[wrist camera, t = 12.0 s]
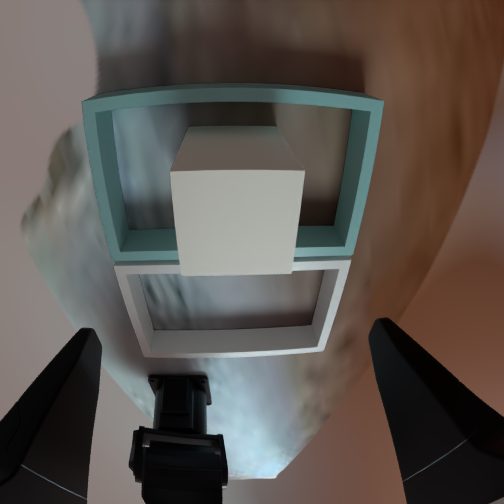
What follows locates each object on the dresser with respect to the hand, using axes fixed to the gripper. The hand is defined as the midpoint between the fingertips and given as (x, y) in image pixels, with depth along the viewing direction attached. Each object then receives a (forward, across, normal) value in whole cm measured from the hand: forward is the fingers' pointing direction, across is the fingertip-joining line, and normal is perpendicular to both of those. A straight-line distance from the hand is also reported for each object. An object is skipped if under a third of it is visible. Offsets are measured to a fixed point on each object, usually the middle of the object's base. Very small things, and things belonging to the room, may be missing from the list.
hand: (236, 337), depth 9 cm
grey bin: (+12, 0, +10) cm, 15 cm away
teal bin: (+12, 0, -1) cm, 12 cm away
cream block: (+12, 0, -1) cm, 12 cm away
